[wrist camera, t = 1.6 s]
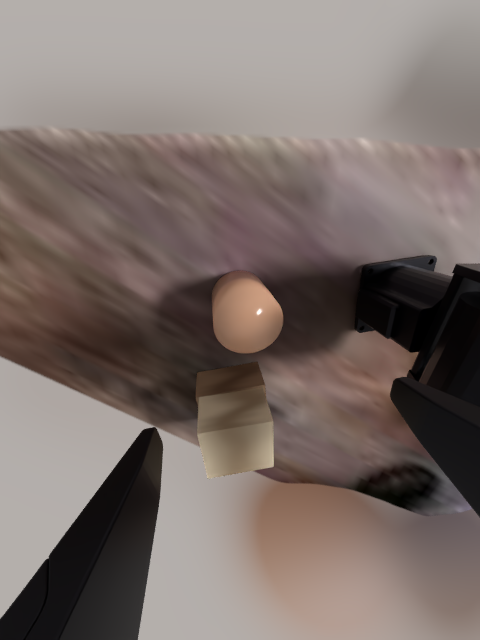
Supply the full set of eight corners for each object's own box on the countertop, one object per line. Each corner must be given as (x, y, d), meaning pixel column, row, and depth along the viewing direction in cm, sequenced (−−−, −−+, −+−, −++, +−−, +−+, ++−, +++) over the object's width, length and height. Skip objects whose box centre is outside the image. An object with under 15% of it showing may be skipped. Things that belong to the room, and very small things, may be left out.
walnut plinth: (256, 360, 22) (264, 384, 19) (261, 403, 25) (269, 430, 22) (197, 371, 22) (195, 397, 19) (208, 413, 25) (208, 443, 22)
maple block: (262, 387, 19) (273, 421, 16) (264, 430, 22) (273, 466, 19) (198, 397, 19) (197, 433, 16) (207, 439, 21) (207, 478, 18)
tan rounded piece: (263, 266, 18) (282, 284, 14) (267, 317, 20) (284, 347, 16) (207, 275, 18) (207, 296, 13) (216, 325, 20) (219, 358, 15)
